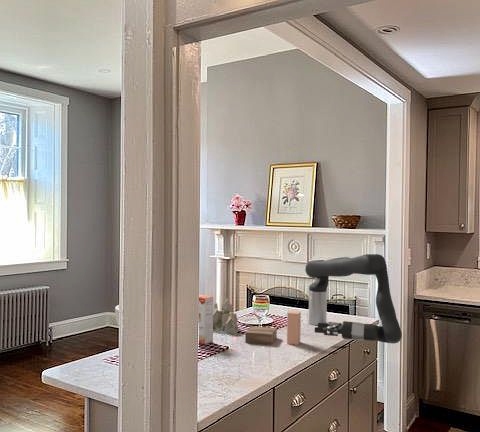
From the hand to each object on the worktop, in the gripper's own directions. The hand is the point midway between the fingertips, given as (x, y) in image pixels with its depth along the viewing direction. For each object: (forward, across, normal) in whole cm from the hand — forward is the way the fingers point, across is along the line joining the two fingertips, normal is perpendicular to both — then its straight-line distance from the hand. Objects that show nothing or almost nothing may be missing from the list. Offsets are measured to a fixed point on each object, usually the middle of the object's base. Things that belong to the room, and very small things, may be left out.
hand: (316, 327), depth 219 cm
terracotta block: (+10, 0, +8) cm, 13 cm away
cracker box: (+52, +12, +8) cm, 54 cm away
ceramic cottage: (+48, -10, +8) cm, 50 cm away
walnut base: (+25, +1, +8) cm, 26 cm away
